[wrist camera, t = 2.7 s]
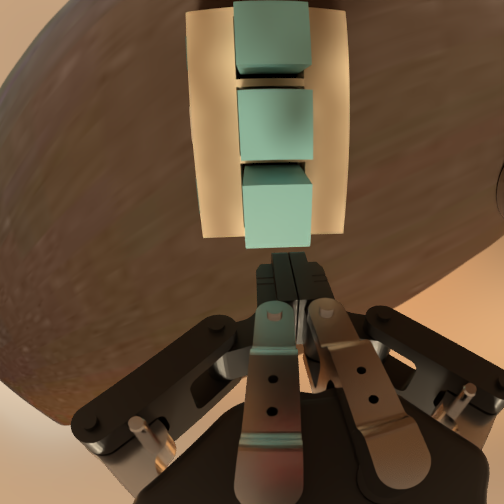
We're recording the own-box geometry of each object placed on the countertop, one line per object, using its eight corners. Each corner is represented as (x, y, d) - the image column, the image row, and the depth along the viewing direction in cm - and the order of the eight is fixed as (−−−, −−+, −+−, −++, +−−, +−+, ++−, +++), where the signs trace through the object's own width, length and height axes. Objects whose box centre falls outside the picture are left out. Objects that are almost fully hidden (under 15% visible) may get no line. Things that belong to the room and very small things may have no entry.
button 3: (298, 164, 23) (312, 184, 18) (298, 214, 25) (310, 246, 20) (244, 165, 23) (242, 185, 18) (247, 215, 25) (245, 248, 20)
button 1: (294, 24, 17) (307, 1, 12) (297, 73, 19) (311, 64, 14) (238, 25, 17) (233, 1, 12) (240, 74, 20) (235, 64, 14)
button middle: (297, 92, 20) (312, 89, 15) (298, 145, 22) (313, 159, 17) (241, 93, 20) (237, 90, 15) (243, 146, 22) (241, 160, 17)
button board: (332, 22, 19) (345, 11, 15) (332, 215, 28) (342, 233, 25) (193, 24, 19) (183, 12, 16) (207, 219, 28) (200, 237, 25)
